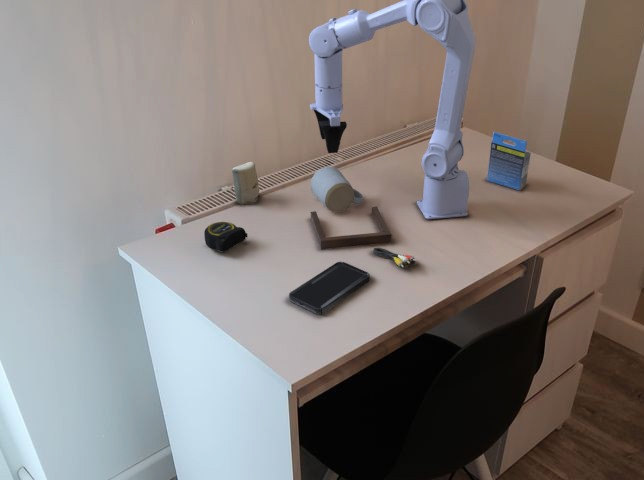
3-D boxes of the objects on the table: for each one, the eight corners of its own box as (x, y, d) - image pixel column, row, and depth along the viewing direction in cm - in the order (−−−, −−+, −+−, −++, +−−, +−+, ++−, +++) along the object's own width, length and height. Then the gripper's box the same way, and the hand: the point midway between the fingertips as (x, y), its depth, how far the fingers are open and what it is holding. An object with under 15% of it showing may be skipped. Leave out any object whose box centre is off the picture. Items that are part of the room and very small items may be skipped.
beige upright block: (239, 192, 160) (236, 159, 155) (262, 194, 160) (260, 160, 155) (233, 204, 155) (230, 170, 150) (257, 206, 155) (254, 171, 150)
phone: (372, 274, 134) (319, 310, 124) (372, 279, 135) (320, 316, 125) (339, 260, 137) (285, 294, 127) (339, 265, 138) (286, 299, 128)
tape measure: (223, 258, 138) (221, 241, 136) (198, 247, 141) (195, 230, 139) (248, 244, 143) (247, 227, 141) (223, 233, 146) (221, 216, 143)
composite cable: (370, 253, 142) (370, 242, 141) (388, 245, 145) (388, 235, 143) (403, 275, 137) (403, 264, 135) (421, 266, 139) (422, 255, 138)
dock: (376, 214, 155) (377, 206, 154) (391, 242, 146) (391, 234, 145) (310, 220, 152) (310, 211, 150) (320, 249, 143) (320, 240, 141)
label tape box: (526, 185, 170) (534, 135, 163) (519, 191, 167) (527, 141, 160) (493, 175, 174) (500, 126, 166) (485, 181, 171) (492, 131, 163)
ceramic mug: (325, 217, 153) (325, 184, 148) (310, 200, 158) (309, 168, 154) (369, 208, 157) (371, 176, 153) (353, 192, 163) (354, 160, 158)
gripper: (304, 73, 156) (306, 133, 164) (315, 97, 145) (317, 160, 153) (336, 72, 158) (336, 131, 166) (350, 95, 147) (349, 158, 155)
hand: (329, 145), depth 160 cm, fingers open, 7 cm apart
